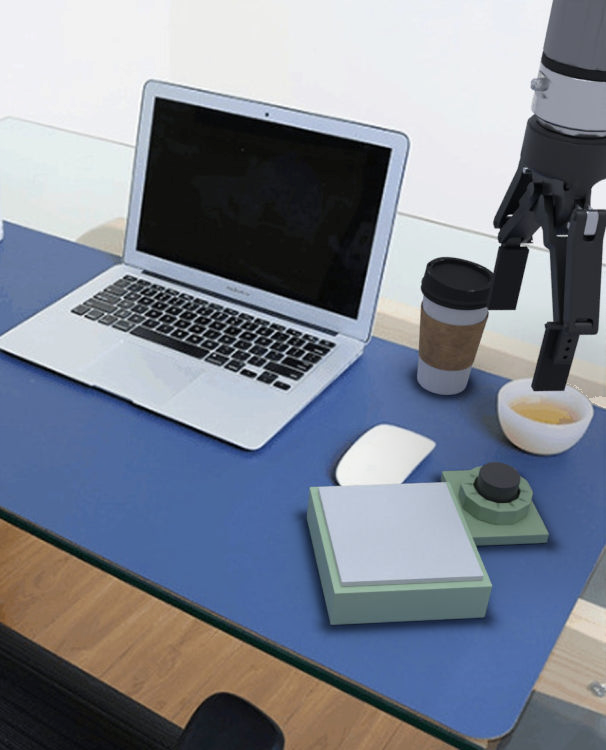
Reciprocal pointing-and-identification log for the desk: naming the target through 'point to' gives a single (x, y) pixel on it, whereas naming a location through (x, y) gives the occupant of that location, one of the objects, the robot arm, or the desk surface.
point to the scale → (395, 554)
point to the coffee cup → (451, 322)
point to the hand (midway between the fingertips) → (522, 346)
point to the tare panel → (496, 512)
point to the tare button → (498, 482)
